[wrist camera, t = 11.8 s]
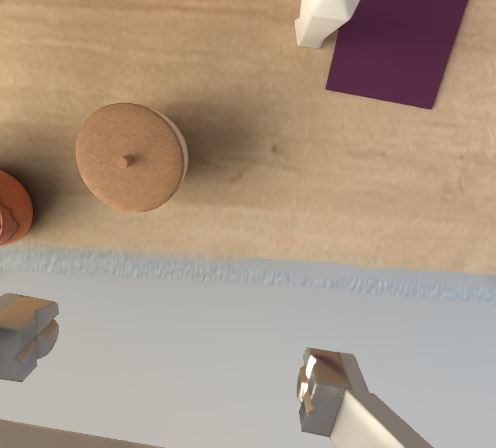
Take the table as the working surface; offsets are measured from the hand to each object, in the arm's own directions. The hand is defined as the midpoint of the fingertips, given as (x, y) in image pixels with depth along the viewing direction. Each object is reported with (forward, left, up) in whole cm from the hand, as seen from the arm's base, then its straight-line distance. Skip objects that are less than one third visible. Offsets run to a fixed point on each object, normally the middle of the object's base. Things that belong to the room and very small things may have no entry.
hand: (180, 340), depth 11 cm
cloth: (-14, -17, -31) cm, 38 cm away
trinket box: (+11, -1, -31) cm, 33 cm away
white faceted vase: (-5, -17, -31) cm, 36 cm away
